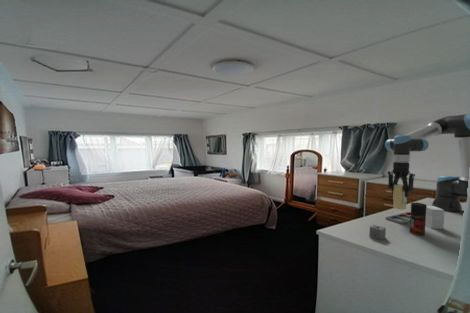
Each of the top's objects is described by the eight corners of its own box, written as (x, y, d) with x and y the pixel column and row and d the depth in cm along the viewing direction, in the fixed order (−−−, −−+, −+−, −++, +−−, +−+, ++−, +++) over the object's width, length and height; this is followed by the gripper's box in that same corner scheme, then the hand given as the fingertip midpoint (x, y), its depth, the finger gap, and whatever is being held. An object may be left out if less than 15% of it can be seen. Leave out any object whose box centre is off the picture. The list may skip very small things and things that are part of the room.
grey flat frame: (408, 213, 142) (408, 211, 142) (425, 218, 134) (425, 215, 134) (385, 219, 132) (385, 216, 132) (402, 224, 124) (402, 221, 124)
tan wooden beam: (397, 206, 132) (398, 183, 132) (405, 208, 128) (406, 185, 128) (393, 207, 131) (394, 184, 130) (401, 209, 127) (402, 185, 126)
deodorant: (407, 231, 113) (408, 203, 112) (413, 230, 115) (415, 202, 114) (420, 236, 108) (422, 206, 107) (427, 234, 110) (429, 205, 109)
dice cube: (369, 236, 107) (369, 226, 107) (373, 234, 110) (374, 224, 110) (380, 240, 103) (381, 230, 103) (385, 237, 106) (385, 227, 106)
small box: (443, 229, 117) (445, 210, 116) (431, 228, 118) (432, 209, 117) (433, 224, 124) (434, 205, 124) (422, 223, 125) (423, 205, 125)
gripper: (381, 161, 134) (380, 198, 136) (415, 163, 118) (413, 206, 120) (389, 160, 137) (387, 197, 139) (422, 162, 121) (420, 204, 123)
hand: (399, 201), depth 129 cm, fingers closed on tan wooden beam, 4 cm apart
